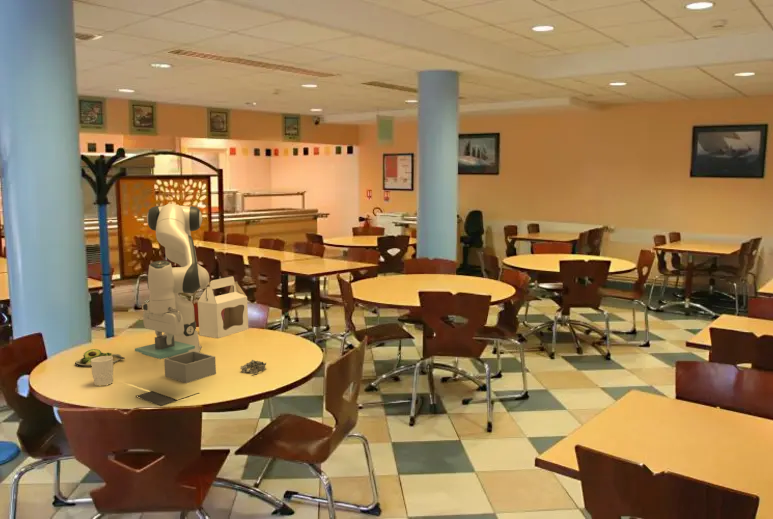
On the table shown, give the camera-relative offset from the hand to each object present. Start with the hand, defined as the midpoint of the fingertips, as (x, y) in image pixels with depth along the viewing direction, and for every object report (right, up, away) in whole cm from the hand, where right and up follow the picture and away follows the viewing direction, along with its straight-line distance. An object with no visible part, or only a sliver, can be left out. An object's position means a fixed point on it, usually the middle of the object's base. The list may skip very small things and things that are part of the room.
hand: (164, 343), depth 235 cm
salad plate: (-45, -14, +46) cm, 66 cm away
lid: (0, -4, 0) cm, 4 cm away
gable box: (-2, -7, +96) cm, 96 cm away
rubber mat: (0, -19, +3) cm, 20 cm away
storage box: (+2, -17, +24) cm, 29 cm away
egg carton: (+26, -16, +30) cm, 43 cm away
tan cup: (-30, -18, +17) cm, 38 cm away
